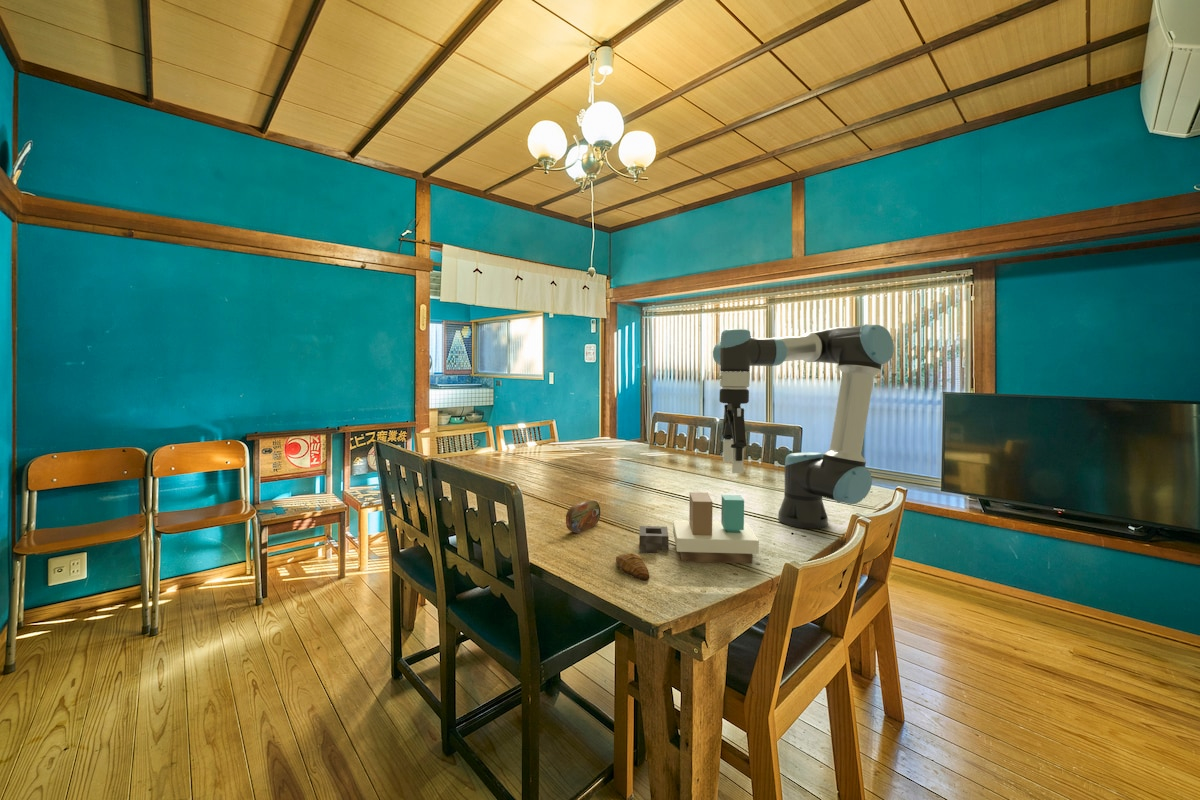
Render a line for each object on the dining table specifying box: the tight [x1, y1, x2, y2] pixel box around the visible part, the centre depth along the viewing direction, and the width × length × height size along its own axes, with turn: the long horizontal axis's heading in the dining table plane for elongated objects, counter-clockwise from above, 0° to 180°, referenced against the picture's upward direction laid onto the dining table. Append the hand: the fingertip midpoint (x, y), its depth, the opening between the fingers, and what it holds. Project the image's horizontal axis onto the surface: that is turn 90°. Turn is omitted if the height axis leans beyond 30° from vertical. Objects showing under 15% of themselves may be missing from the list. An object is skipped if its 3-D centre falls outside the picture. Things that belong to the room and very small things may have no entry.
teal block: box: [720, 494, 745, 533], centre depth 129 cm, size 5×5×16 cm
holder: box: [638, 525, 670, 555], centre depth 136 cm, size 8×8×5 cm
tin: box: [565, 500, 601, 534], centre depth 153 cm, size 15×3×8 cm, turn 143°
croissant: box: [615, 552, 650, 582], centre depth 121 cm, size 14×7×5 cm, turn 30°
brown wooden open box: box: [679, 552, 753, 564], centre depth 130 cm, size 18×12×6 cm, turn 85°
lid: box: [672, 491, 760, 555], centre depth 129 cm, size 21×15×12 cm
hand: (732, 467), depth 128 cm, fingers open, 13 cm apart
